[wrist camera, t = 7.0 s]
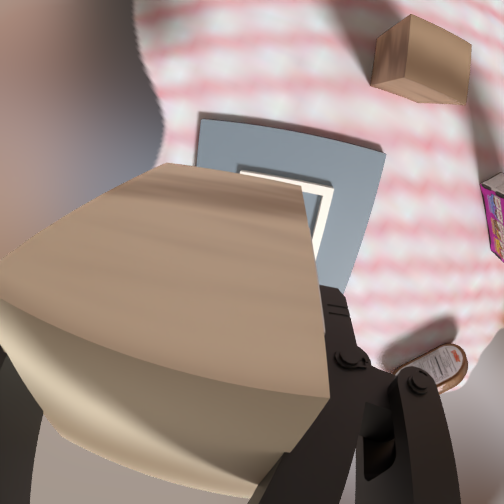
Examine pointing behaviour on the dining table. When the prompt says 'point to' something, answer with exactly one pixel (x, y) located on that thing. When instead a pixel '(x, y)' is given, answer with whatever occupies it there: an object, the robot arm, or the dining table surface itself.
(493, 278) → the dining table surface
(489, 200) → the candy bar box
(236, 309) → the birch block
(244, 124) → the baseboard
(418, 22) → the walnut block
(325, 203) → the square frame
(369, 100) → the dining table surface
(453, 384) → the tin
